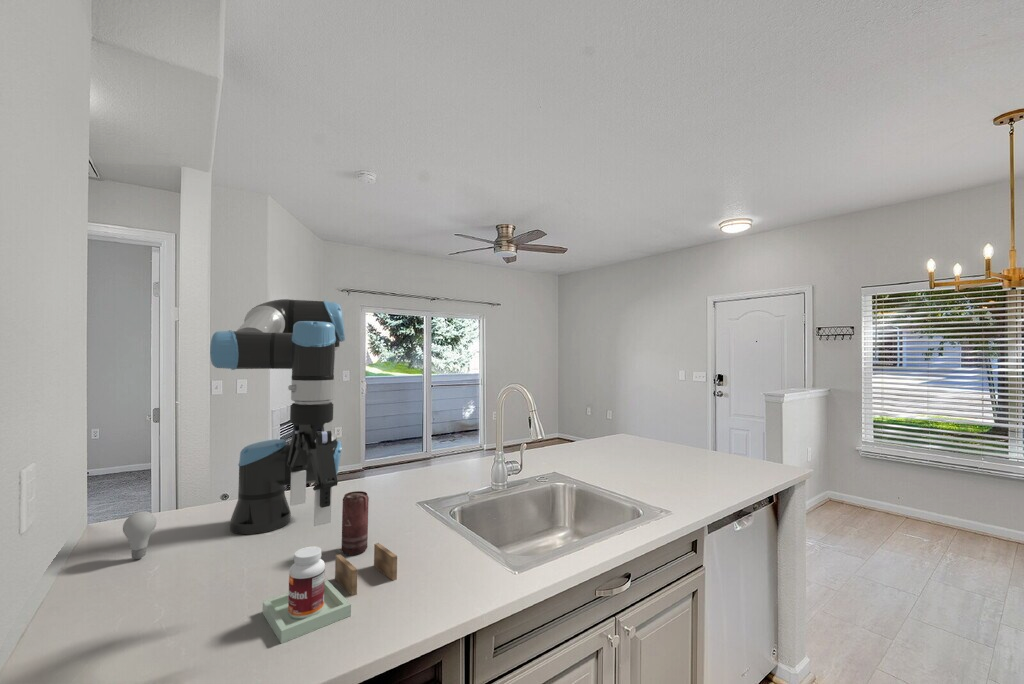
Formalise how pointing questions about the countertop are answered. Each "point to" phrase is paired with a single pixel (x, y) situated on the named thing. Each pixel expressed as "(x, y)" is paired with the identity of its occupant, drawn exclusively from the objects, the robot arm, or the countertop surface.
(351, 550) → the can
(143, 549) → the lightbulb
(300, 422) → the robot arm
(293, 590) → the pill bottle
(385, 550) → the rack
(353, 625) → the countertop surface
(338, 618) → the tray
